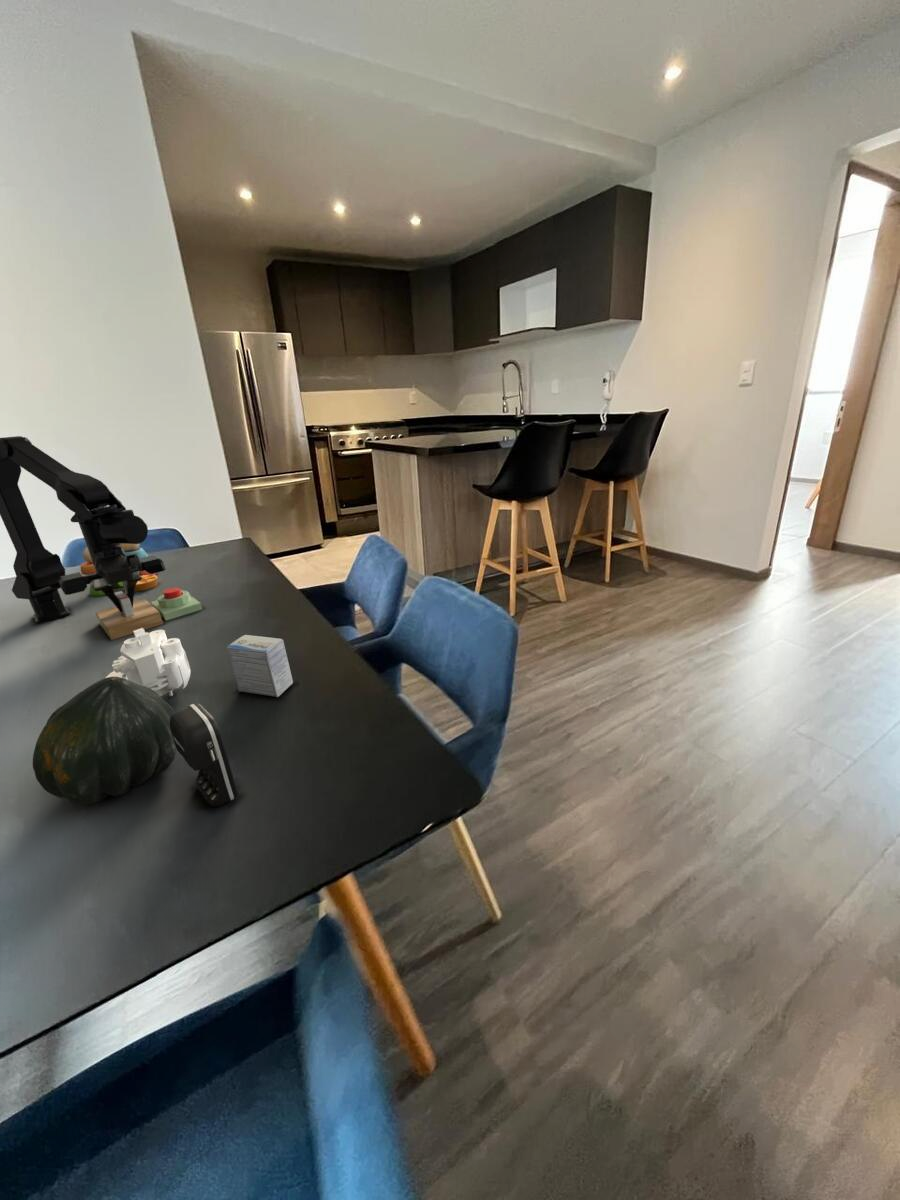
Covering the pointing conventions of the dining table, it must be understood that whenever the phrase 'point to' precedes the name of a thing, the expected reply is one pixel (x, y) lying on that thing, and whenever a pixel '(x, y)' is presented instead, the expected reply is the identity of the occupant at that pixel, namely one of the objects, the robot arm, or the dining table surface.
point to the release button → (172, 593)
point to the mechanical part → (153, 662)
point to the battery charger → (204, 753)
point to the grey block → (124, 603)
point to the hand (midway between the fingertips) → (126, 610)
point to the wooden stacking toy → (144, 584)
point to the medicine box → (260, 665)
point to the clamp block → (129, 619)
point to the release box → (176, 605)
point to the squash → (104, 742)
